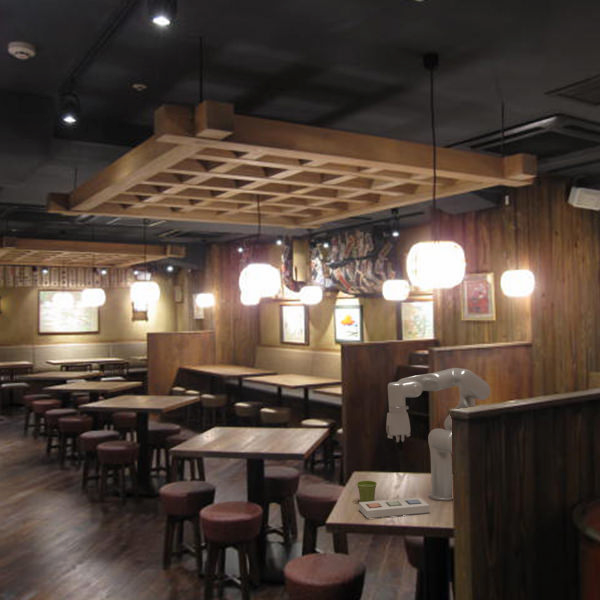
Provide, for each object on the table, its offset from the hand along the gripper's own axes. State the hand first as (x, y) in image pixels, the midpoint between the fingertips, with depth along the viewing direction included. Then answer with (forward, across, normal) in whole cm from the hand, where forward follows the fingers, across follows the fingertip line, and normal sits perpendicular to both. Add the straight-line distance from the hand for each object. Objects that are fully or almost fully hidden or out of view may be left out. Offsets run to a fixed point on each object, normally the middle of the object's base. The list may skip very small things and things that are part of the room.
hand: (399, 450), depth 271 cm
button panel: (+24, +8, +9) cm, 27 cm away
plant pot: (+24, +15, -7) cm, 29 cm away
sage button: (+23, +8, +9) cm, 26 cm away
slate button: (+24, -1, +9) cm, 25 cm away
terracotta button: (+23, +17, +9) cm, 30 cm away
